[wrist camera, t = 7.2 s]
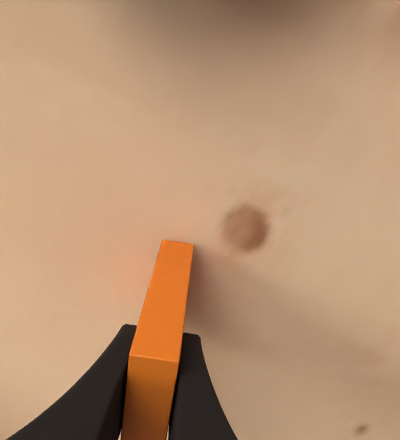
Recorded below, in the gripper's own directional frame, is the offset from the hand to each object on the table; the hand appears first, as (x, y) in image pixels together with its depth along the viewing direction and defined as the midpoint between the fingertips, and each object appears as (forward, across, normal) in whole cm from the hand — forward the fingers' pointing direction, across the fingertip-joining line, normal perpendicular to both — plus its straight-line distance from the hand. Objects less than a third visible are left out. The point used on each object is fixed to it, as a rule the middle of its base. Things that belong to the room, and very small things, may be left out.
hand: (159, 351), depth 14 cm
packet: (+4, 0, 0) cm, 4 cm away
